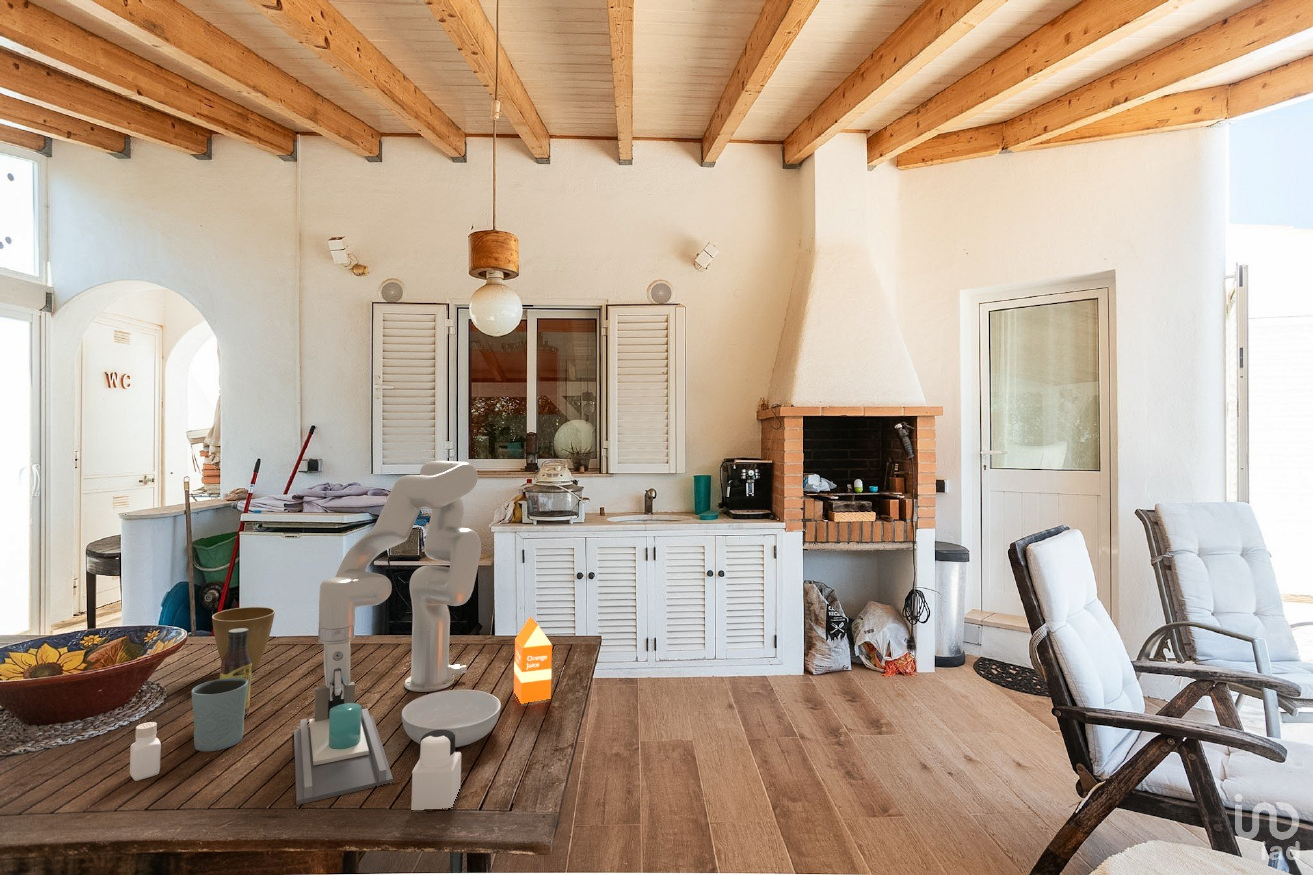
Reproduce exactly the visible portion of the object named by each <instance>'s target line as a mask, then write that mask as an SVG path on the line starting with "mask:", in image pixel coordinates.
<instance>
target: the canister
mask: <svg viewBox="0 0 1313 875" xmlns="http://www.w3.org/2000/svg"><path fill="white" fill-rule="evenodd" d="M361 718H362V705H361V704H359V703H355V702H354V703H347V704H341V705H338V706H335V707H333V708H331V709H330V713H329V747H330V748H332V749H346V748H350V747H353V746H355V745H357V744H358V743H359V742H360V737H361Z"/></svg>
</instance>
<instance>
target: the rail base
mask: <svg viewBox="0 0 1313 875" xmlns="http://www.w3.org/2000/svg"><path fill="white" fill-rule="evenodd" d="M375 721H376V720H375V718H374V716H373V715H370V712H369V708H367V707H366V708H361V724H362V727H363V731H364V735H365V738H366V742H367V746H368V749H369V754H368V755H363V756H358V757H353V758H348V759H344V760H339V761H334V762H329V763H324V764H319V765H314V766H313V759H312V748H311V736H310V726H309V727H308V718H304V719H300V727H299V728H297V729H293V730H294V731H293V743H294V744H293V746H294V770H295V777H294V778H295V797H296V798H295V801H296V802H295V803H296V806H299V805H303V804H307V803H312V802H315V801H321V800H325V799H328V798H329V799H330V798H333V797H337V796H343V795H347V794H350V793H351V794H352V793H354V792H359V791H363V790H368V788H369V789H373V788H376V787H375V786H377V787H381V786H380V785H382V786H384V785H383V784H386V785H388V784H387V783H390V782H393V783H394V778H393V775H392V772H391V768H390V764H389V761H388V759H387V755H386V753H385V750H384V746H383V744H382V740H381V736H380V734H379V730H378V728H377V725H376V722H375ZM390 784H391V783H390ZM372 787H373V788H372Z"/></svg>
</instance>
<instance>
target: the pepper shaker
mask: <svg viewBox="0 0 1313 875" xmlns="http://www.w3.org/2000/svg"><path fill="white" fill-rule="evenodd" d="M157 726H158V723H157V722H156V721H149V722H144V723H141V724H138V725H137V726H135V742H133V743H132V744H131V745H130V752H129V753H130V755H129V774H130V776H131V778H132V779H133V780H134V781H135V782H136V781H137V782H138V781H141V780H144V779H149V778H150V777H154V776H157V775H158V774H159V773H160V771H161V770H160V769H161V747H162V744H161V741H160V739H159V738H158V737H157V733H158V732H157Z"/></svg>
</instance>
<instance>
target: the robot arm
mask: <svg viewBox="0 0 1313 875" xmlns="http://www.w3.org/2000/svg"><path fill="white" fill-rule="evenodd" d="M478 478H479V475H478V471H477V468H476V467H475V466H474V465H472V464H471V463H470V462H466V461H451V460H450V461H449V460H433V461H428V462H426V463H424V464H423V465H422V466H421V468H420V472H419V474H406V475H403V476H401V477H399V478H398V479H397V480H396V481H395V483H394V484H393V486H392V489H391V490H390V493H389V496H388V497H387V499H386V502H385V504H384V506H383V508H382V510H381V512H380V514H379V516H378V518H377V520H376V523H375V524H374V526H373V528H371V529H370V530H368V532H367V533H365V534H364V535H363V536H362V537H361V538H360V539H359V540H357V542H355V544H353V546H352V547H350V548H349V550H348V551H347V552H346V554H345V556H344V557H343V559H342V560H341V563H340V565H339V567H338V570H337V571H336V574H335V577H331V578H327V579H323V581H322V582H321V583H320V585H319V597H318V598H319V599H318V600H319V601H318V602H319V603H318V605H319V606H318V609H319V610H318V633H317V634H318V637H317V642H318V643H320V644H322V645H323V674H324V681H325V686H327V687H328V688H329V689H330V700H328V718H329V713H330V709H331V708H333V707H335V706H338V705H341V704H344V688H343V686H344V685H343V683H344V684H345V685H346V684H347V685H349V684H350V682H351V641H353V640H354V639H355V638H356V636H355V635H356V611H357V610H356V609H357V608H362V607H371V606H373V607H374V606H377V605H381V604H382V603H384V602H385V601H386V600H388V598H389V597H390V596H391V594H392V590H393V589H392V587H393V586H392V581H391V579H389V578H388V577H387V576H386V575H384V574H380V573H377V572H369V571H367V569H368V568H369V566H370V565H371V563H372V562H373V560H374V559H376V558H377V557H378V556H379V555H380V554H381V553H384V552H385V551H387V550H389V549H391V548H394V547H396V546H398V545H400V544H402V543H404V542H406V541H407V540H408V539H409V537H410V534H411V532H412V531H413V527H414V525H415V523H416V520H417V518H418V516H419V514H420V512H421V510H422V509H425V510H431V513H430V519H429V523H428V527H427V531H426V535H425V542H424V548H423V551H424V554H425V556H426V557H427V558H428V559H431V560H433V561H437V562H438V561H439V562H445V563H450V564H449V567H447V566H442V565H423V566H421V567H419V568H417V569H416V570H414V572H413V573H412V575H411V577H410V579H409V595H410V599H411V606H412V607H411V608H412V627H411V628H412V630H411V631H412V632H411V636H412V637H411V662H410V663H411V664H410V676H409V677H407V678H406V679H405V680H404V687H405V689H407V690H409V691H412V692H416V693H417V692H419V693H424V692H425V693H427V692H437V691H440V690H441V691H442V690H444V689H446V688H448V687H450V686H451V685H453V684H454V682H455V675H457V674H459V675H460V674H466V673H467V670H468V669H467V665H461V666H460V664H453V665H451V664H450V662H449V661H450V632H451V631H450V627H451V626H450V625H451V615H450V610H449V606H453V607H457V606H461V605H464V604H466V603H467V602H468V600H470V598H471V597H472V593H473V591H474V587H475V582H476V578H477V574H478V568H479V564H480V559H481V554H482V542H481V538H480V536H479V534H478V533H477V531H475V530H474V529H471V528H466V527H462V524H463V518H464V513H465V508H464V506H465V505H464V503H463V500H462V498H463V497H464V496H466V495H468V494H469V493H471V492H472V491H473V490H474V488H476V485H477V483H478V480H479V479H478ZM333 689H334V690H335V691H333Z"/></svg>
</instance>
